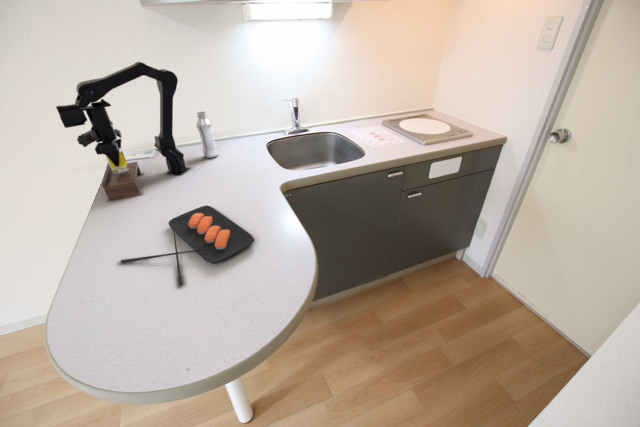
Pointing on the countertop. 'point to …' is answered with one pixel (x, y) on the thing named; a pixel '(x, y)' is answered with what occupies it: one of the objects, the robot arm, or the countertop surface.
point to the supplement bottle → (122, 163)
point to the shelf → (121, 182)
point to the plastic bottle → (206, 135)
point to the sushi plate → (207, 236)
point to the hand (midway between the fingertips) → (118, 163)
